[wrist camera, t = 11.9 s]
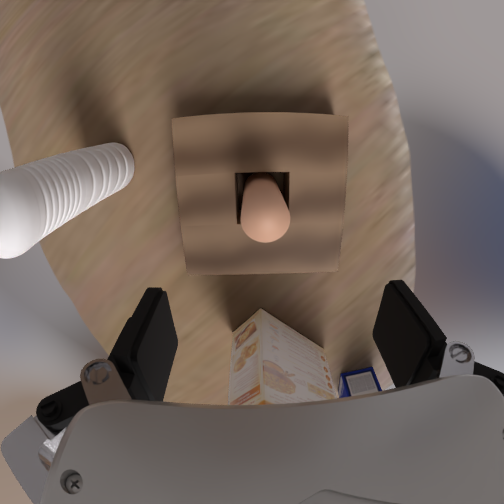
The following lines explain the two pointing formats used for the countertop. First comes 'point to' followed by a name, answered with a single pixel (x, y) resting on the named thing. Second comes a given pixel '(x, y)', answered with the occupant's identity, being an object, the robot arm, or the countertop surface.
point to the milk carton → (358, 383)
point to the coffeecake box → (276, 365)
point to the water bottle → (57, 192)
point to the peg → (263, 209)
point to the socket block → (260, 160)
